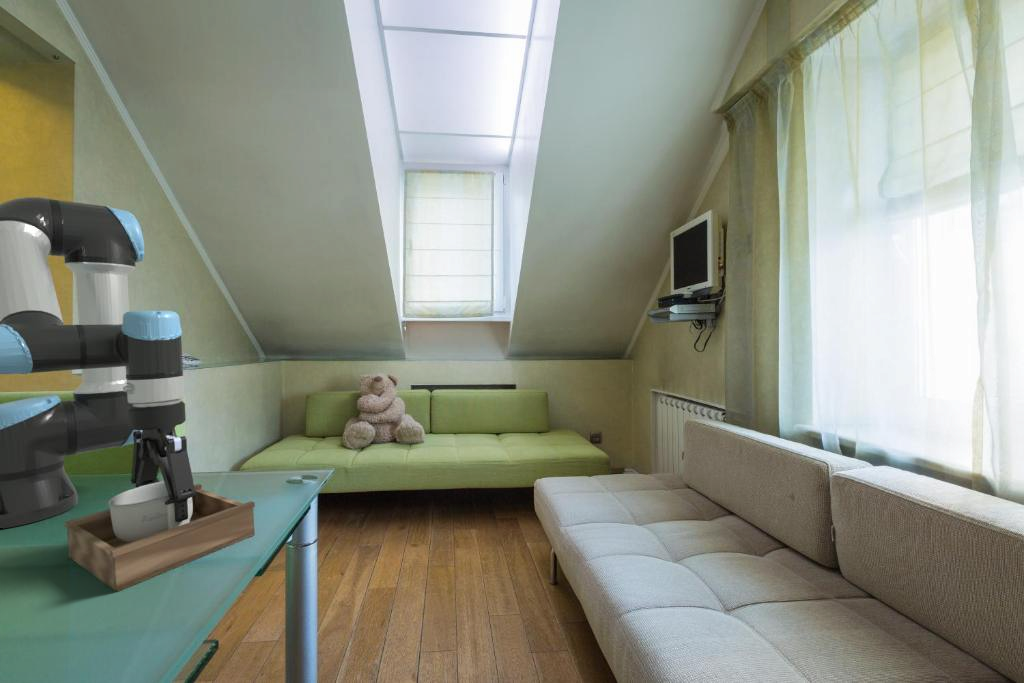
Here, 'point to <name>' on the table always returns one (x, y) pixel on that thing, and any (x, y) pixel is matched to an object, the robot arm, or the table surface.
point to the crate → (158, 541)
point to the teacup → (141, 512)
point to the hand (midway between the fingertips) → (164, 531)
